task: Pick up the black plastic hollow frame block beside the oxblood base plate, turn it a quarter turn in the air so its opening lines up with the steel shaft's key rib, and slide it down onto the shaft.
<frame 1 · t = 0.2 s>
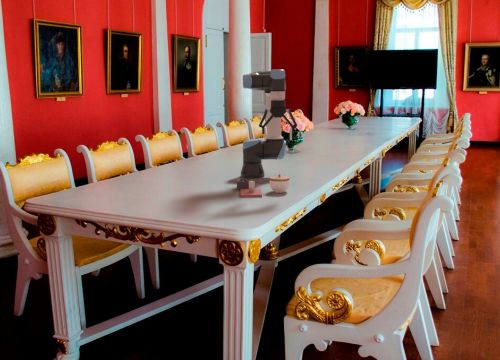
hand: (278, 140, 279), 27 cm above the table, fingers open, 13 cm apart
lidded jar: (279, 192, 283), on the table
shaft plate: (251, 193, 278), on the table
hollow frame block: (243, 188, 291), on the table
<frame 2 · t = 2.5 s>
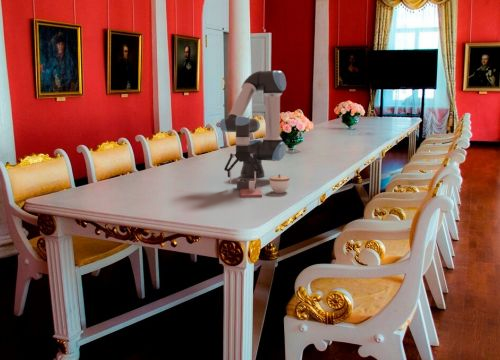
hand: (242, 183, 290), 3 cm above the table, fingers open, 13 cm apart
nothing on the table moved.
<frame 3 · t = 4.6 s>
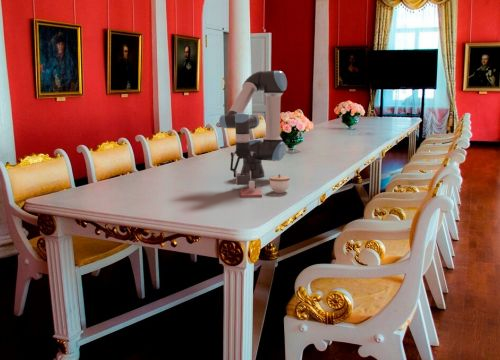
hand: (243, 182, 291), 3 cm above the table, fingers closed on hollow frame block, 7 cm apart
hollow frame block: (243, 183, 291), point 3 cm above the table, touching gripper
everything else where it was.
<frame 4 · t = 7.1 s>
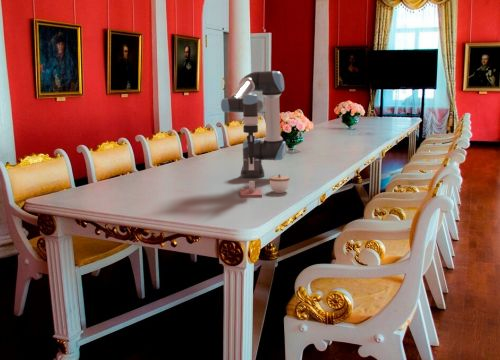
hand: (251, 168, 276), 13 cm above the table, fingers closed on hollow frame block, 7 cm apart
hollow frame block: (251, 169, 276), point 13 cm above the table, touching gripper
everything else where it was.
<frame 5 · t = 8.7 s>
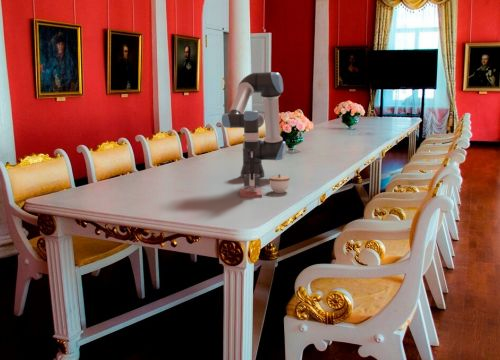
hand: (251, 184, 276), 5 cm above the table, fingers closed on hollow frame block, 7 cm apart
hollow frame block: (251, 184, 277), point 5 cm above the table, touching gripper
everything else where it was.
when the fingers open (2 cm above the table, at t = 9.7 s): hollow frame block stays where it is, resting on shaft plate.
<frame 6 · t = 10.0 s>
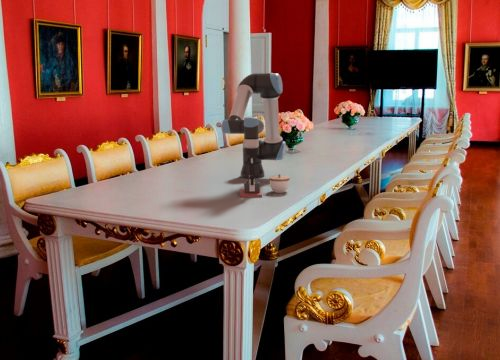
hand: (251, 189, 277), 3 cm above the table, fingers open, 10 cm apart
hollow frame block: (252, 191, 277), point 1 cm above the table, touching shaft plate
everything else where it was.
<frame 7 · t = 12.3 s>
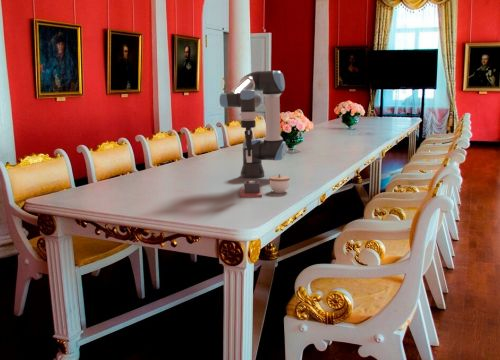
hand: (248, 160, 277), 17 cm above the table, fingers open, 13 cm apart
nothing on the table moved.
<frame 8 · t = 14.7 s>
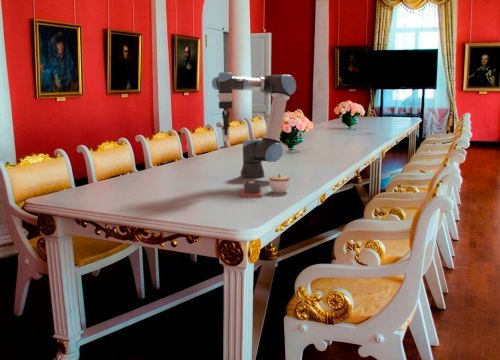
hand: (226, 139, 292), 27 cm above the table, fingers open, 13 cm apart
nothing on the table moved.
at the end: hollow frame block 0.5 cm off-centre on the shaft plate, point 1.2 cm above the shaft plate's base; hollow frame block tilted 0°; the gripper is holding nothing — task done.
